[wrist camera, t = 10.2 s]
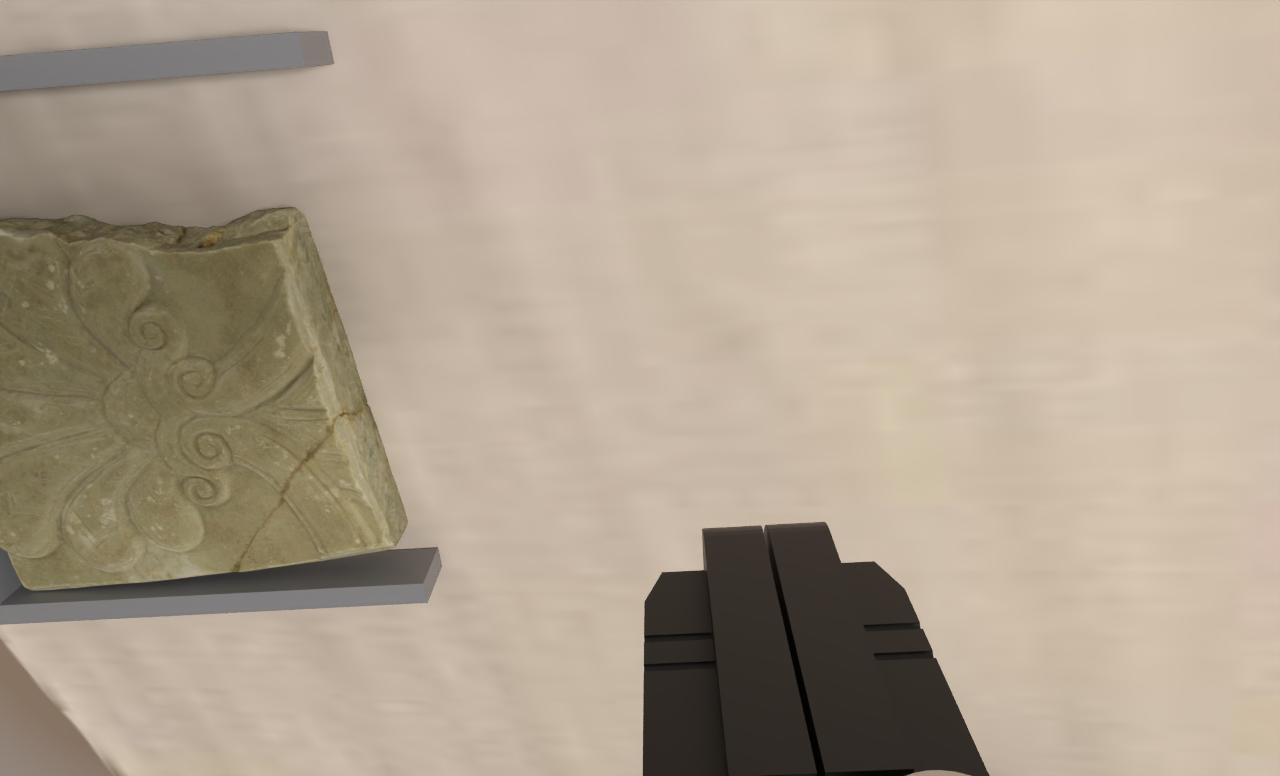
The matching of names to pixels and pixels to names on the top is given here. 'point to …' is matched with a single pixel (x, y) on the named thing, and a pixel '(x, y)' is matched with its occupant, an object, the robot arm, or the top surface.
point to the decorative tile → (180, 405)
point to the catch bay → (232, 592)
